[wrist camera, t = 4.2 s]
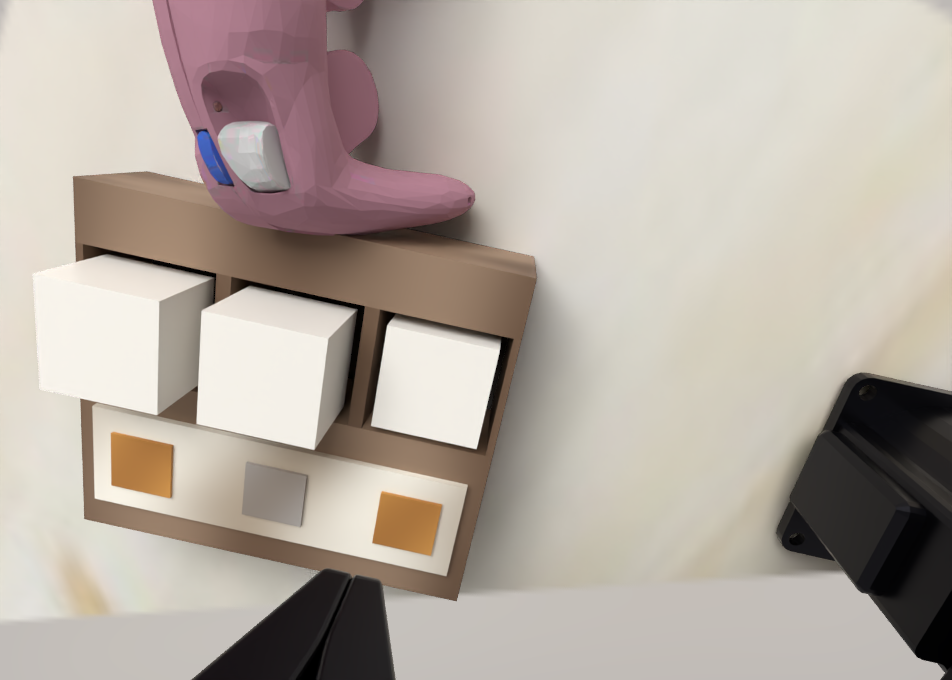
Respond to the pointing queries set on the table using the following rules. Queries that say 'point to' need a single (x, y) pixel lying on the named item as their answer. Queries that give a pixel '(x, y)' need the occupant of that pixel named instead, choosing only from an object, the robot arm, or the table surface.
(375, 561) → the keypad
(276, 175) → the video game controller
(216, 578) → the table surface
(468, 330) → the key
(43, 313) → the key
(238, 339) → the key middle
